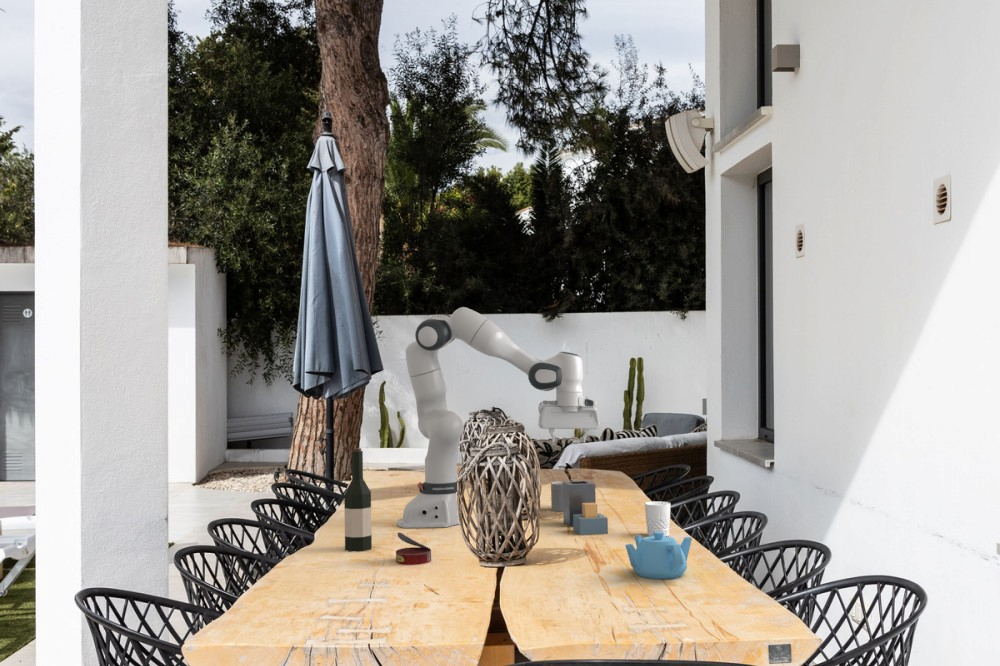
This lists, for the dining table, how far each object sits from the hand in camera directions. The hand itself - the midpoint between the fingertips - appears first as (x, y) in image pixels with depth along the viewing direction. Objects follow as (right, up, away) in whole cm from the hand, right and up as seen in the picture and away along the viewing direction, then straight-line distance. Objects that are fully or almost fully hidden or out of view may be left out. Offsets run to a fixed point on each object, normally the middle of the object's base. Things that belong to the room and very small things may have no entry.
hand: (568, 442), depth 306 cm
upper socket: (+4, -28, +6) cm, 29 cm away
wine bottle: (-65, -29, -29) cm, 77 cm away
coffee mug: (+3, -29, +36) cm, 46 cm away
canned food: (-47, -28, -47) cm, 72 cm away
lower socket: (+6, -28, -8) cm, 30 cm away
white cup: (+27, -27, -16) cm, 42 cm away
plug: (+6, -26, -8) cm, 28 cm away
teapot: (+18, -26, -67) cm, 74 cm away
